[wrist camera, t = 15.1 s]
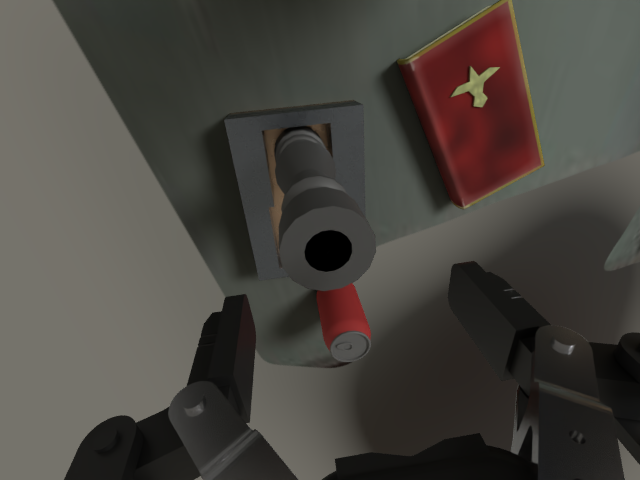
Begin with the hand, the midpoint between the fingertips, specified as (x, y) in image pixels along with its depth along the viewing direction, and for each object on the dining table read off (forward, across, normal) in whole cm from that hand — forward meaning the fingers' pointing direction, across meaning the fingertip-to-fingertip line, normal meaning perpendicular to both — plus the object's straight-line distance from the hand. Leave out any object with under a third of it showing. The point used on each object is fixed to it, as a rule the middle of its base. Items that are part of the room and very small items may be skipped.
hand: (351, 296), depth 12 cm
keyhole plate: (+32, +1, +7) cm, 33 cm away
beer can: (+32, -3, +26) cm, 41 cm away
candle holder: (+31, 0, +2) cm, 31 cm away
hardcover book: (+33, -22, 0) cm, 40 cm away
